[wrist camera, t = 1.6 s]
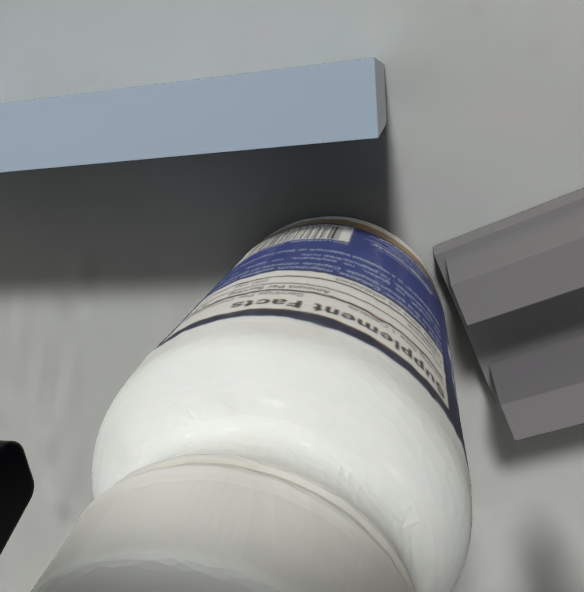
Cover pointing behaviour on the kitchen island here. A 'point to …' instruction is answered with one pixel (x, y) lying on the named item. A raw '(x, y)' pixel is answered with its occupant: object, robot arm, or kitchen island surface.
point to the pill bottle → (286, 434)
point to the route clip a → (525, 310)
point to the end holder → (197, 116)
